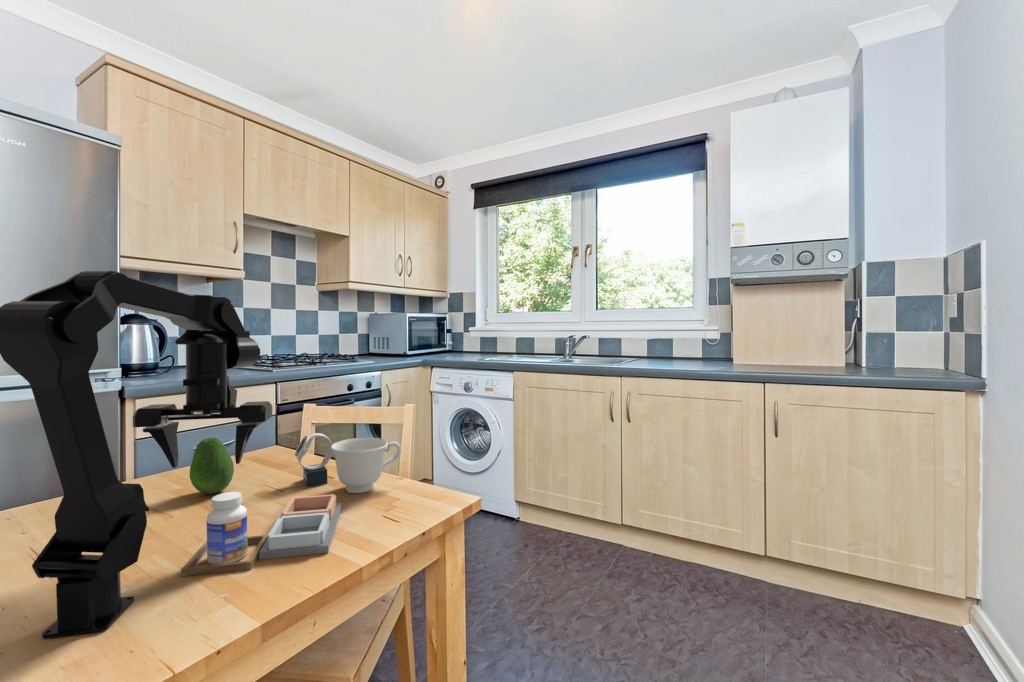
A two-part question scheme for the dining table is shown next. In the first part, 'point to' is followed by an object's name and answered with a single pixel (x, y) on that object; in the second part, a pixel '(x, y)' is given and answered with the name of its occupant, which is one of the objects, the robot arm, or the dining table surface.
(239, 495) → the pill bottle
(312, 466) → the watch
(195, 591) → the dining table surface
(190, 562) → the tray
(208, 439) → the fruit
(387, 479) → the dining table surface
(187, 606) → the dining table surface
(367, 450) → the teacup
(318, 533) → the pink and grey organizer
